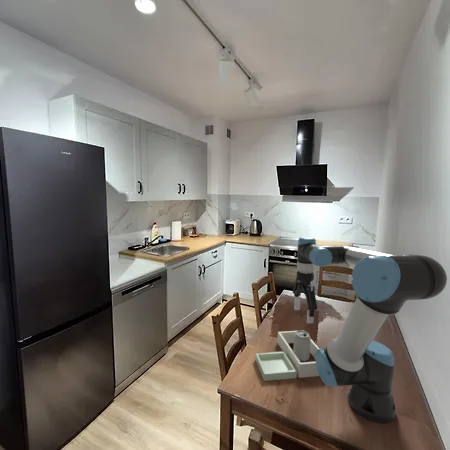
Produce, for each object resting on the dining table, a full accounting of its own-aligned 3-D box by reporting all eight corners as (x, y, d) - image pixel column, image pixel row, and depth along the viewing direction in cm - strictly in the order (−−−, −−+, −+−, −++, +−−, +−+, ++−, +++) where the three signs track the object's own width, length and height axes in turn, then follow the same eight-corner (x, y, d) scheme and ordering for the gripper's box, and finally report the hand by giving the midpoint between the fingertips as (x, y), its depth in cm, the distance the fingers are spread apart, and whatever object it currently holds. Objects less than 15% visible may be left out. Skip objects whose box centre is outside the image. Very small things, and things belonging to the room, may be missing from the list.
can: (310, 363, 118) (311, 338, 117) (293, 361, 119) (294, 336, 118) (308, 353, 125) (309, 330, 124) (292, 351, 127) (293, 328, 125)
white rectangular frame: (329, 374, 111) (330, 361, 110) (298, 377, 108) (299, 364, 108) (303, 341, 136) (303, 330, 135) (277, 342, 134) (277, 331, 133)
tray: (296, 378, 108) (296, 371, 108) (264, 381, 106) (264, 374, 106) (284, 357, 122) (284, 351, 122) (255, 359, 120) (255, 353, 120)
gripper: (327, 279, 106) (324, 328, 108) (301, 264, 131) (299, 304, 133) (310, 280, 105) (308, 329, 107) (287, 264, 130) (285, 305, 132)
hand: (303, 315), depth 120 cm, fingers open, 13 cm apart
